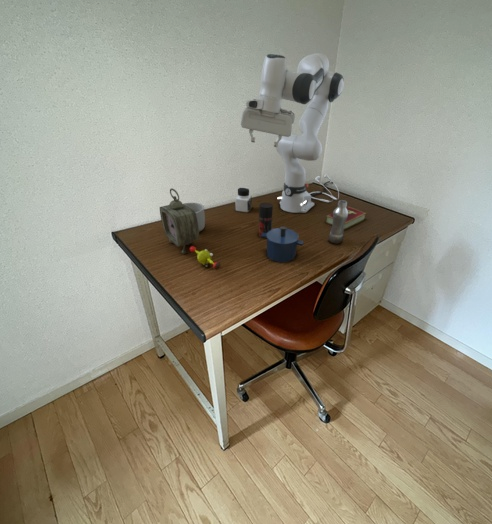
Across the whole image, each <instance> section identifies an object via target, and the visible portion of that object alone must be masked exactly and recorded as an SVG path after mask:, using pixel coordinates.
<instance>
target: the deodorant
mask: <svg viewBox="0 0 492 524" xmlns="http://www.w3.org/2000/svg"><path fill="white" fill-rule="evenodd" d="M258 209H259V210H258V236H259V237H260V238H263V237H261V235H262V234H263V233H267V232H268V231H270V230H272V229H273V209H274V205H273V204H272V203H270V202H261V203H259V205H258Z"/></svg>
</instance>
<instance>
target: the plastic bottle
mask: <svg viewBox="0 0 492 524" xmlns="http://www.w3.org/2000/svg"><path fill="white" fill-rule="evenodd" d="M347 207H348V201H346V200H343V199H340V200H339V201H338V202H337V207H336V208H335V209H334V210H333V212H332V213H333V224H332V225H331V228H330V232H329V234H328V242H330V243H331V244H337V245H338V244H341V243H342V242H343V239H344V231H345V230H344V225H345V221H346V219H347V216H348V211H347V209H346V208H347Z"/></svg>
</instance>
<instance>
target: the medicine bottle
mask: <svg viewBox="0 0 492 524" xmlns="http://www.w3.org/2000/svg"><path fill="white" fill-rule="evenodd" d="M234 201H235V202H234V203H235V205H234V206H235V211H236V212H240V213H241V212H242V213H249V212H250V211H251V209H252V207H253V206H252V205H253V204H252V202H253V201H252V195H250V189H249V188H248V187H244V186H241V187H238V189H237V196H236V197H235V199H234Z"/></svg>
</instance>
